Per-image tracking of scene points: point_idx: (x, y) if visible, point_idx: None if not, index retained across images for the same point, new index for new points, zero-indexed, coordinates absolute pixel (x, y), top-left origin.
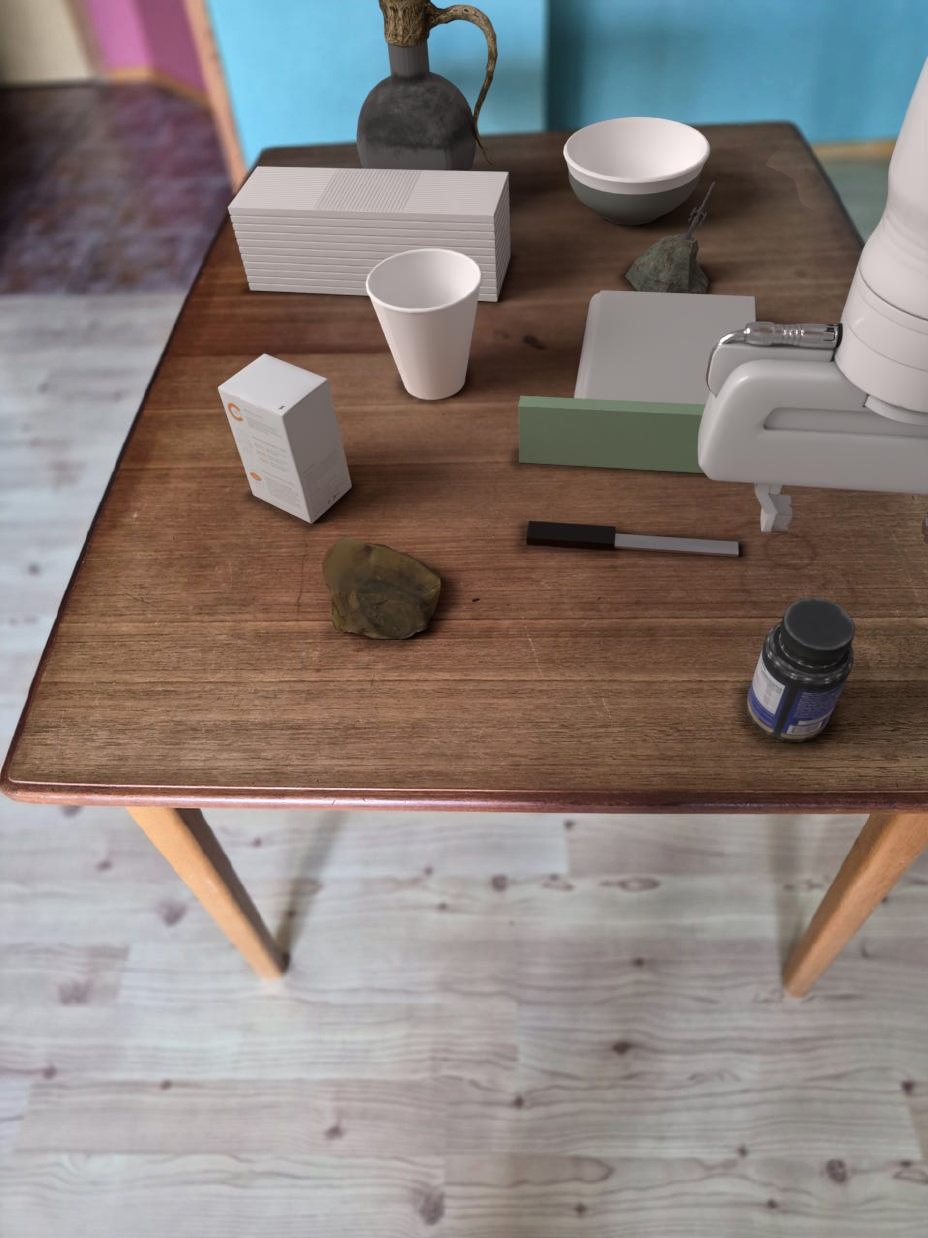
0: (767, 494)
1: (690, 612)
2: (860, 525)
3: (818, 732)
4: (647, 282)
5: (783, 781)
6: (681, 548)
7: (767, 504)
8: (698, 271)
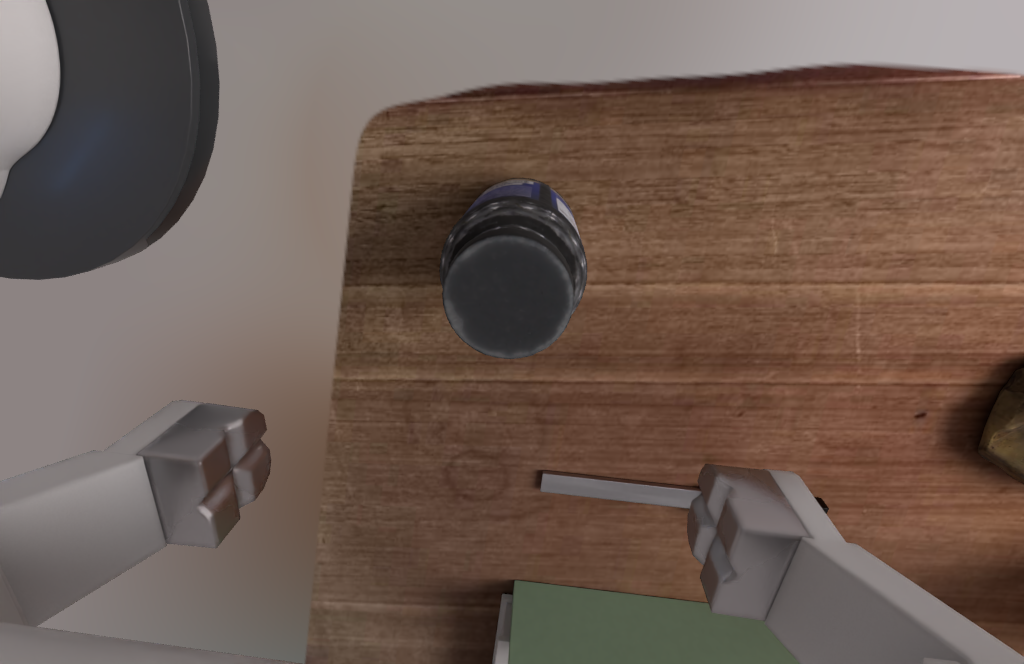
0: (978, 660)
1: (620, 391)
2: (387, 507)
3: (484, 191)
4: None
5: (542, 114)
6: (615, 484)
7: (903, 591)
8: None
